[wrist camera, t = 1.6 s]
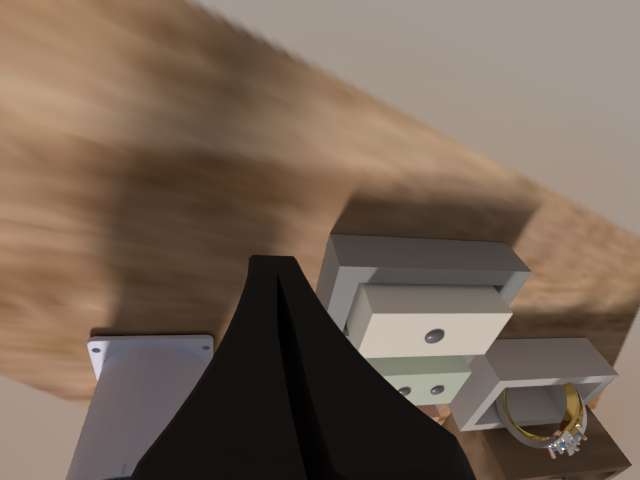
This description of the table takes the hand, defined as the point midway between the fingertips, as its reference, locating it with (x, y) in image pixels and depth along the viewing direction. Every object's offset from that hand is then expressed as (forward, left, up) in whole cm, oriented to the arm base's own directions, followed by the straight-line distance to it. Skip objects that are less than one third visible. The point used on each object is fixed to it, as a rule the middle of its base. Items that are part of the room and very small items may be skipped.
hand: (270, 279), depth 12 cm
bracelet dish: (-19, -26, -9) cm, 34 cm away
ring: (-19, -26, -9) cm, 34 cm away
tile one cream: (-8, -11, -7) cm, 16 cm away
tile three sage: (-14, -11, -7) cm, 20 cm away
